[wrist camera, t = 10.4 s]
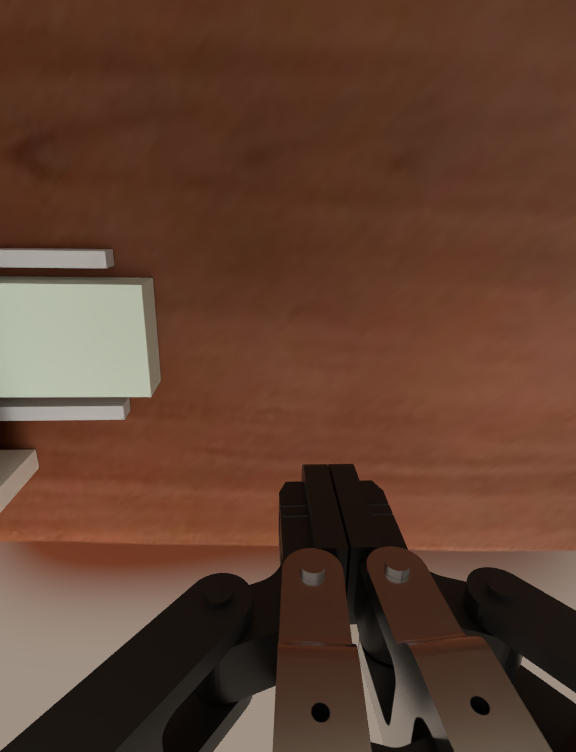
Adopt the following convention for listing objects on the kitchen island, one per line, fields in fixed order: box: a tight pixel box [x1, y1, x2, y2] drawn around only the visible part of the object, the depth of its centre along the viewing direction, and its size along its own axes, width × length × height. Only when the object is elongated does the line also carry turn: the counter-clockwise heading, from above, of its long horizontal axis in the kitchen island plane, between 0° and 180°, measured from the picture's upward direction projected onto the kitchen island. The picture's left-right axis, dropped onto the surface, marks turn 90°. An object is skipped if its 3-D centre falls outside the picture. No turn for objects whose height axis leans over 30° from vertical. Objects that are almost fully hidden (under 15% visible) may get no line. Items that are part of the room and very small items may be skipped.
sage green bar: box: [0, 276, 161, 398], centre depth 28 cm, size 7×16×3 cm, turn 89°
